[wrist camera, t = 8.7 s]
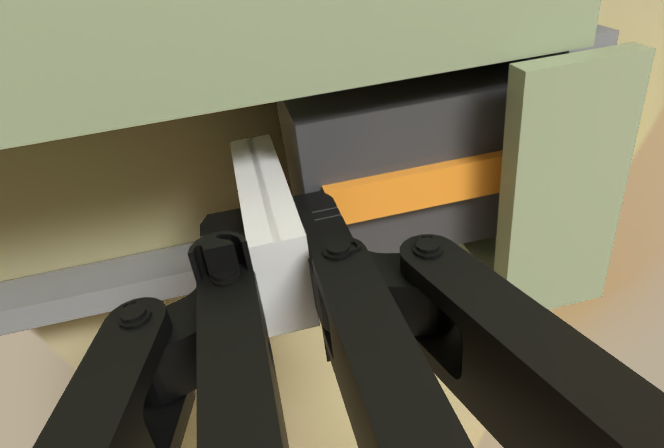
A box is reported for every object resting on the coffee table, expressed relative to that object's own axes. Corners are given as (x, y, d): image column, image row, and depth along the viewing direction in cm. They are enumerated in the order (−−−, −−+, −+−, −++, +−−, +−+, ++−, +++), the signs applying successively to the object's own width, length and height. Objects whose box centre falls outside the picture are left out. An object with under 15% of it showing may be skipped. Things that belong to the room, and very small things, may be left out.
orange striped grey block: (293, 202, 21) (320, 282, 16) (272, 77, 18) (297, 131, 13) (481, 164, 22) (557, 230, 17) (487, 40, 19) (578, 80, 15)
